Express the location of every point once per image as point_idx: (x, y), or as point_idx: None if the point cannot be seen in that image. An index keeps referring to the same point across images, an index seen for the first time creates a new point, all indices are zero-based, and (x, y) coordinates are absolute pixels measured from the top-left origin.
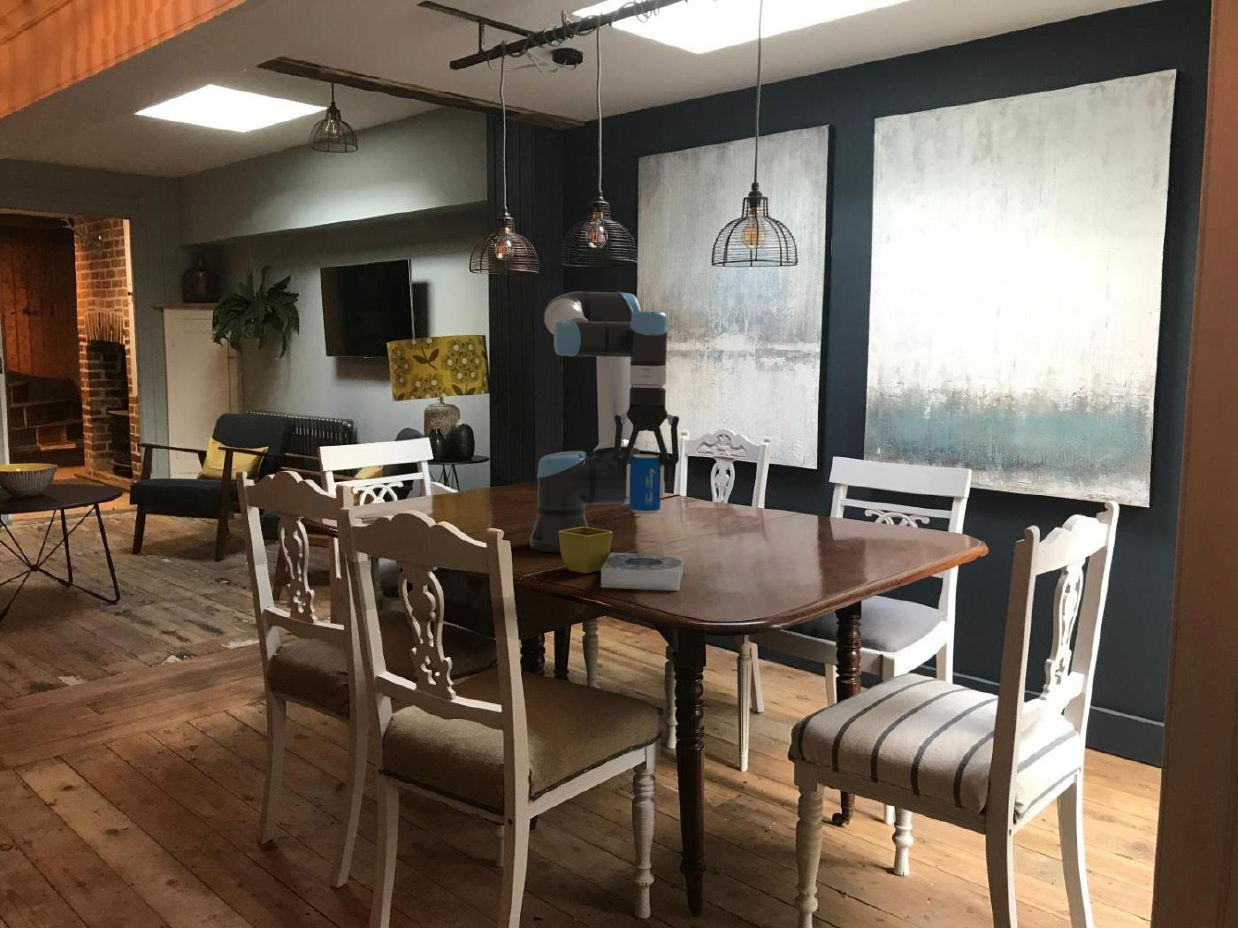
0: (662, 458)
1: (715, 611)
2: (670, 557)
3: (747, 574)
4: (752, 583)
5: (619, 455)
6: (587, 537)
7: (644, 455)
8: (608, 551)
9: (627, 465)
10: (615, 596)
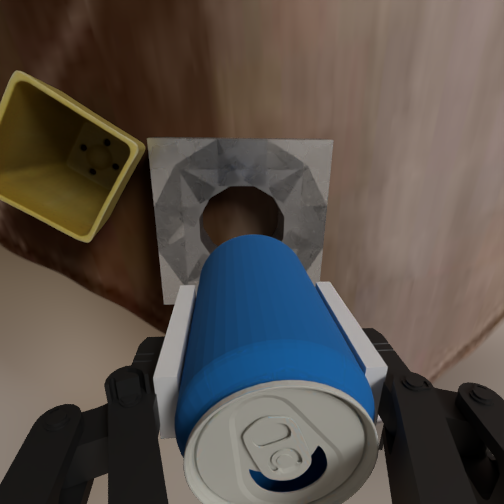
0: (389, 470)
1: None
2: (302, 170)
3: (460, 119)
4: (449, 201)
5: (71, 449)
6: (89, 241)
7: (263, 387)
8: (143, 153)
9: (163, 430)
10: None
